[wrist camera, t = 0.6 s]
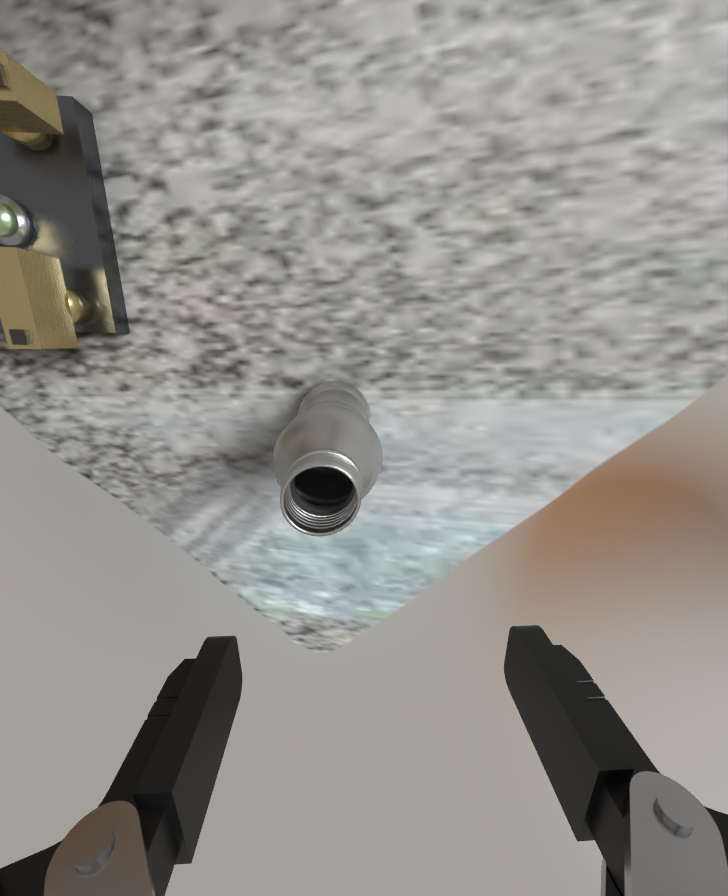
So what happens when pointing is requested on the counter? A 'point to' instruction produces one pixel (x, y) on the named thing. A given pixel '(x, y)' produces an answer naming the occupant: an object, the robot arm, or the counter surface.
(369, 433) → the plastic bottle
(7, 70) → the knob
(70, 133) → the levelling plate
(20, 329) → the knob
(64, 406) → the counter surface
